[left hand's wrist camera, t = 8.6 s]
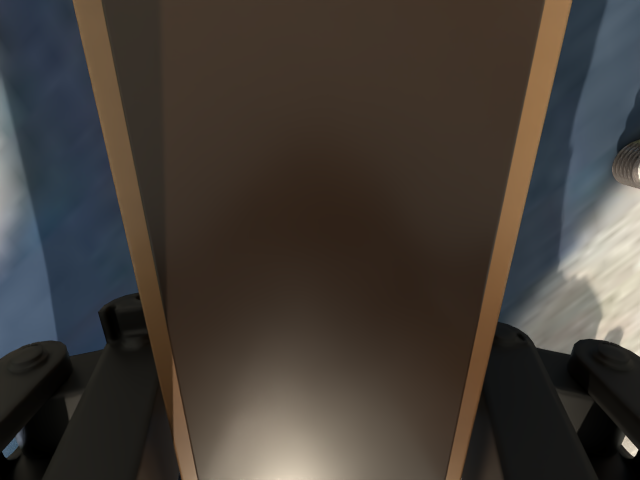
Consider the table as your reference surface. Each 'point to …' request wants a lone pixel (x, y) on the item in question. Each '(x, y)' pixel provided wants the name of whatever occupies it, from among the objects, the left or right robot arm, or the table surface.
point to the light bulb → (628, 165)
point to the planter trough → (321, 217)
